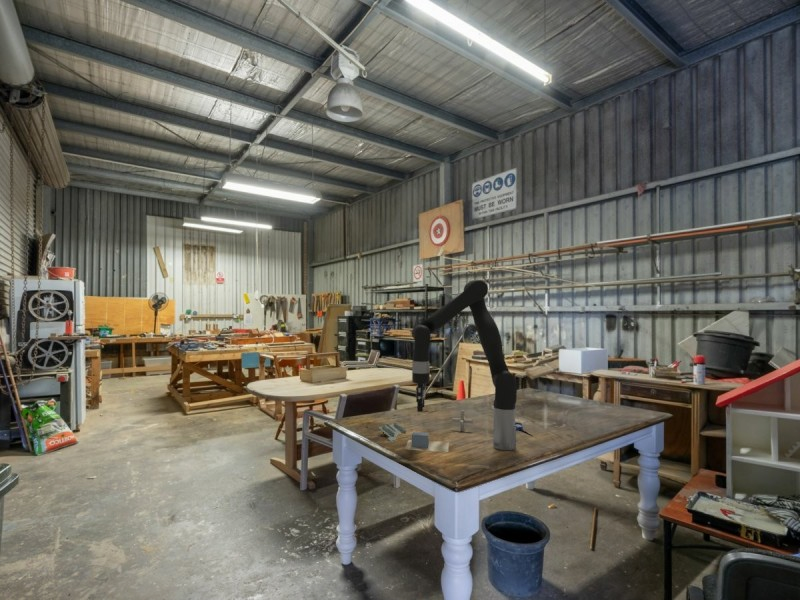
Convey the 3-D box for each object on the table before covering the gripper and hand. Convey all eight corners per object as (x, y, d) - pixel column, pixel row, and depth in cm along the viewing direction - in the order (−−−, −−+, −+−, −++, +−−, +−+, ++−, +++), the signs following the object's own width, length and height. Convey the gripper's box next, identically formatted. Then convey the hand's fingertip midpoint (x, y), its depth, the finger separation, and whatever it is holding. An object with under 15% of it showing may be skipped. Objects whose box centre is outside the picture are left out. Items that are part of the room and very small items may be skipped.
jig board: (448, 445, 176) (449, 436, 176) (448, 455, 163) (448, 445, 163) (408, 442, 179) (408, 434, 179) (404, 452, 166) (404, 443, 166)
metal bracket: (374, 423, 189) (398, 418, 199) (372, 434, 190) (396, 429, 200) (393, 439, 179) (417, 433, 189) (390, 450, 180) (414, 444, 190)
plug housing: (428, 444, 172) (428, 433, 172) (428, 447, 168) (428, 435, 168) (412, 443, 173) (412, 432, 174) (411, 446, 169) (411, 434, 169)
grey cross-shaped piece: (454, 427, 205) (454, 407, 205) (473, 429, 202) (473, 409, 202) (450, 432, 195) (450, 412, 196) (471, 434, 192) (471, 413, 192)
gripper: (428, 374, 164) (428, 413, 163) (430, 369, 178) (430, 406, 178) (410, 373, 165) (410, 413, 165) (414, 369, 179) (414, 405, 179)
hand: (420, 409), depth 171 cm, fingers open, 8 cm apart
